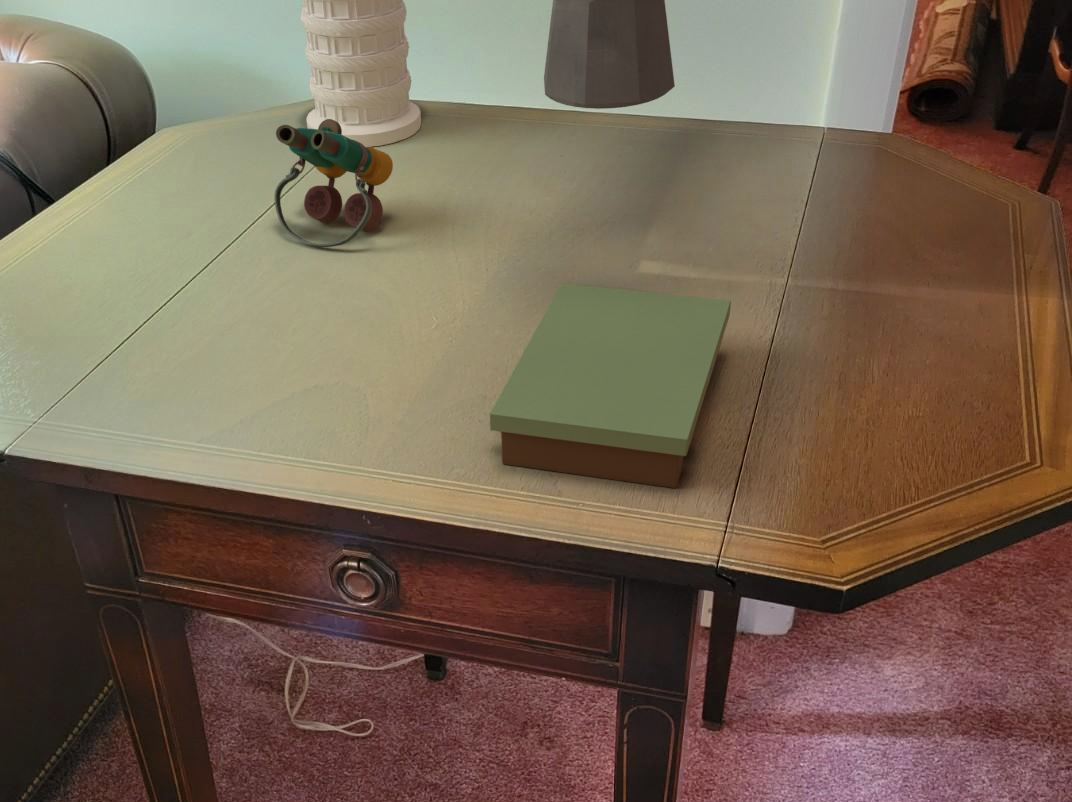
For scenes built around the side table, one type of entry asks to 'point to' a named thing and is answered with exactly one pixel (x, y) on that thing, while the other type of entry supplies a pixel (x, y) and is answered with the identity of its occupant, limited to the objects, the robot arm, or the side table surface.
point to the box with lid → (611, 384)
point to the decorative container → (360, 69)
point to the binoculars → (335, 176)
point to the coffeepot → (608, 53)
